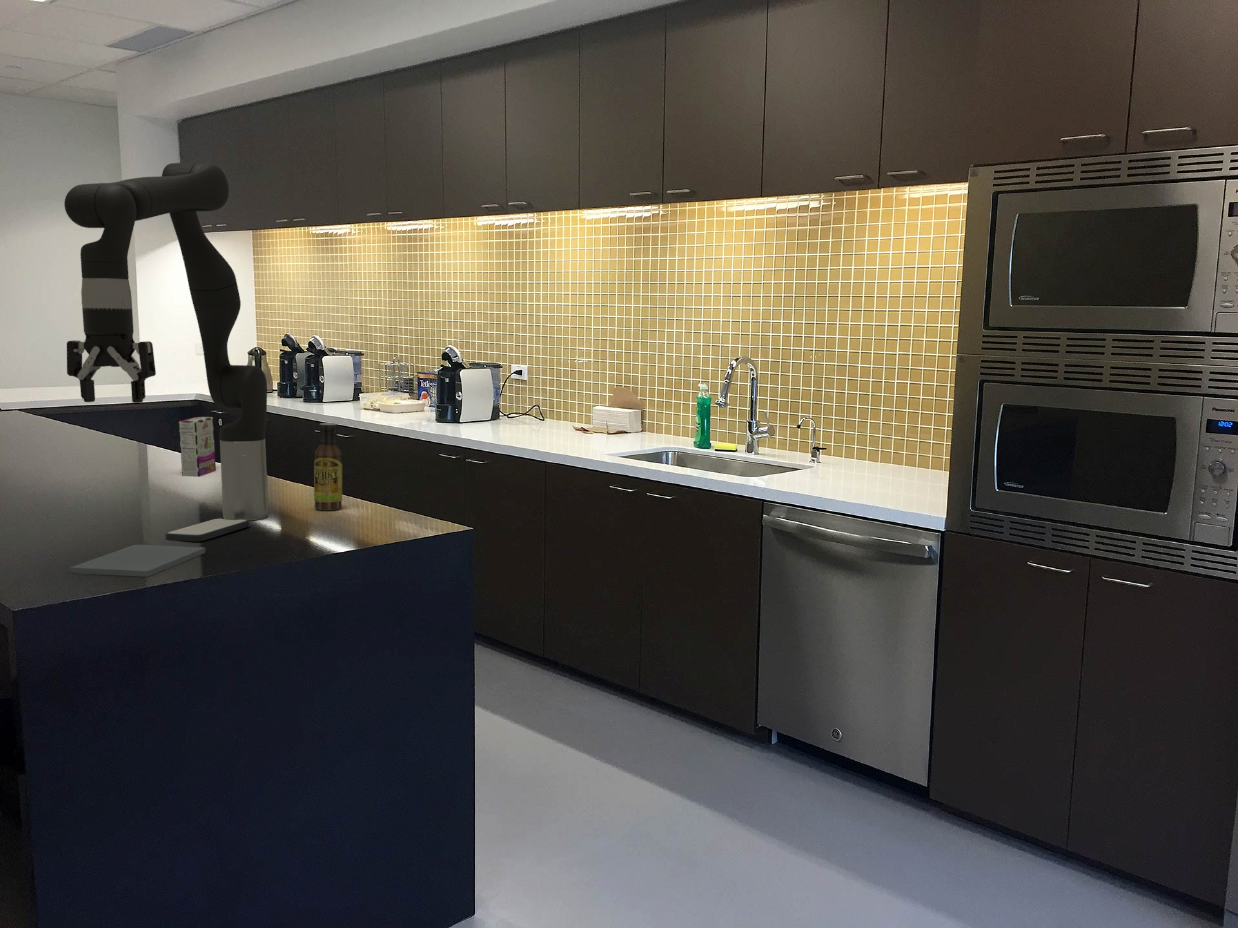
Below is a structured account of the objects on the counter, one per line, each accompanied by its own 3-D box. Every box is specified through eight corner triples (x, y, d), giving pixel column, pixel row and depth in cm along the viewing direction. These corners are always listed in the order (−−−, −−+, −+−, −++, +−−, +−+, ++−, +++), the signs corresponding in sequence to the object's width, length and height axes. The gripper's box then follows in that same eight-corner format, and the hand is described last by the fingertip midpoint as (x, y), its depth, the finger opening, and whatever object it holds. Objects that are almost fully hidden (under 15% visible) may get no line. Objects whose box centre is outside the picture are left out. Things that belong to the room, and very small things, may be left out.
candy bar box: (198, 475, 275) (196, 416, 272) (216, 475, 275) (214, 417, 272) (180, 481, 264) (177, 420, 261) (199, 481, 264) (196, 420, 261)
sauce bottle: (311, 511, 224) (308, 424, 221) (318, 506, 230) (316, 422, 227) (339, 511, 224) (337, 425, 222) (346, 506, 231) (344, 422, 228)
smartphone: (200, 543, 190) (252, 527, 206) (199, 535, 190) (252, 519, 205) (162, 541, 193) (216, 525, 208) (161, 533, 192) (216, 517, 208)
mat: (135, 549, 184) (135, 544, 184) (205, 552, 183) (205, 547, 182) (70, 573, 167) (70, 567, 166) (147, 576, 165) (147, 571, 165)
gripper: (159, 307, 169) (165, 401, 171) (80, 306, 170) (86, 399, 172) (136, 306, 162) (141, 405, 164) (52, 305, 162) (59, 403, 165)
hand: (113, 402), depth 168 cm, fingers open, 8 cm apart
